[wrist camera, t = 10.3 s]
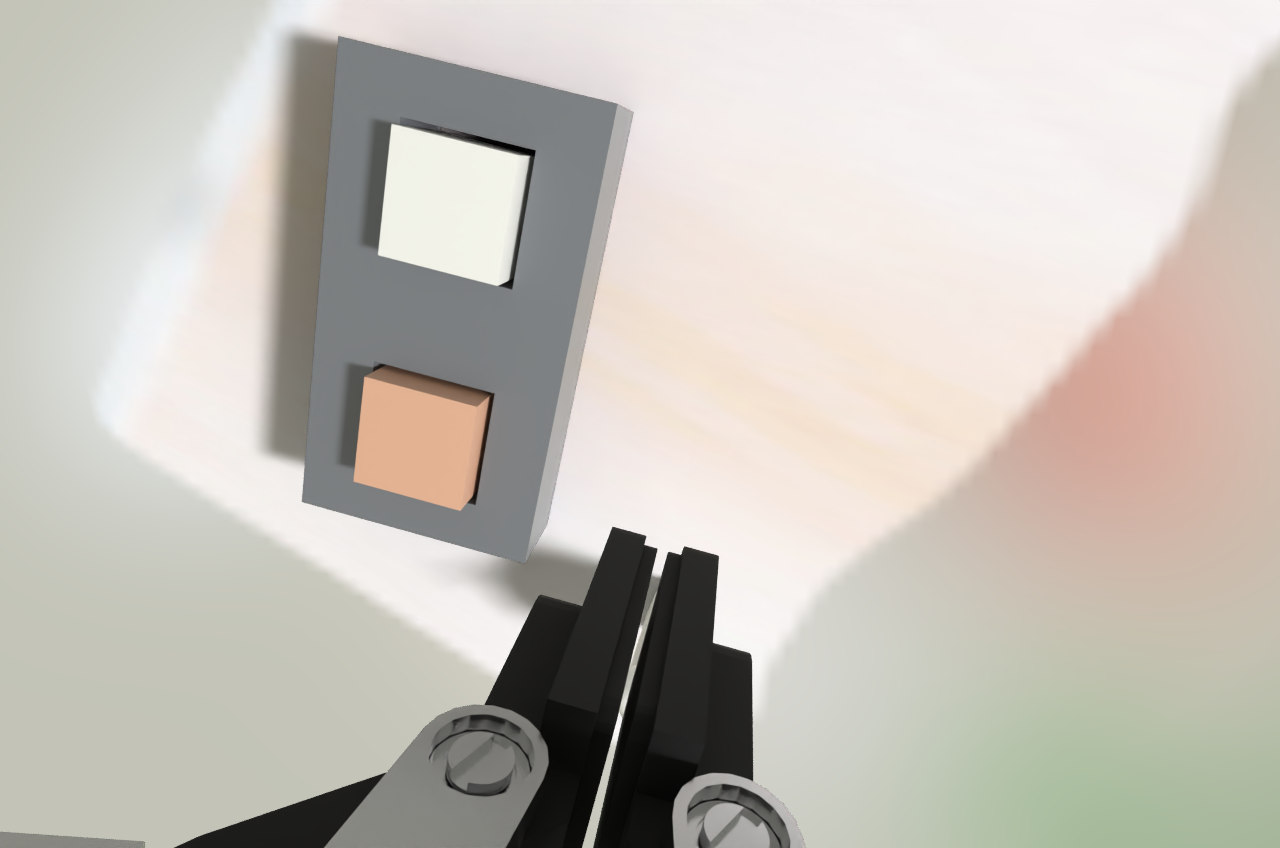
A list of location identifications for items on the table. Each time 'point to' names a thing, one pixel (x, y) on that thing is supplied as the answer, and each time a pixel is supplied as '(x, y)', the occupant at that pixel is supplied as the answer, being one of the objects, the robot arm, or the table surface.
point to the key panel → (459, 290)
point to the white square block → (454, 204)
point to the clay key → (422, 436)
